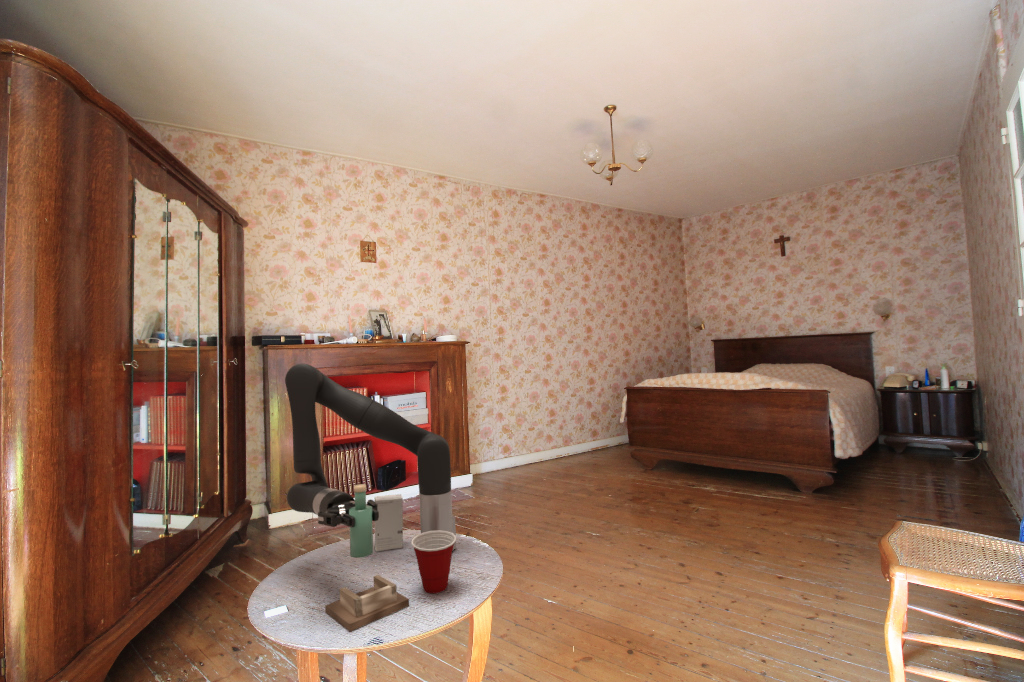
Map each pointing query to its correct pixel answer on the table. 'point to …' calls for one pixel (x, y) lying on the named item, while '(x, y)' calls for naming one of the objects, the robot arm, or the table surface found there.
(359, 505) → the green bottle
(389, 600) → the bottle cradle
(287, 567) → the table surface
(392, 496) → the skincare box
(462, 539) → the table surface
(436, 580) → the plastic cup
